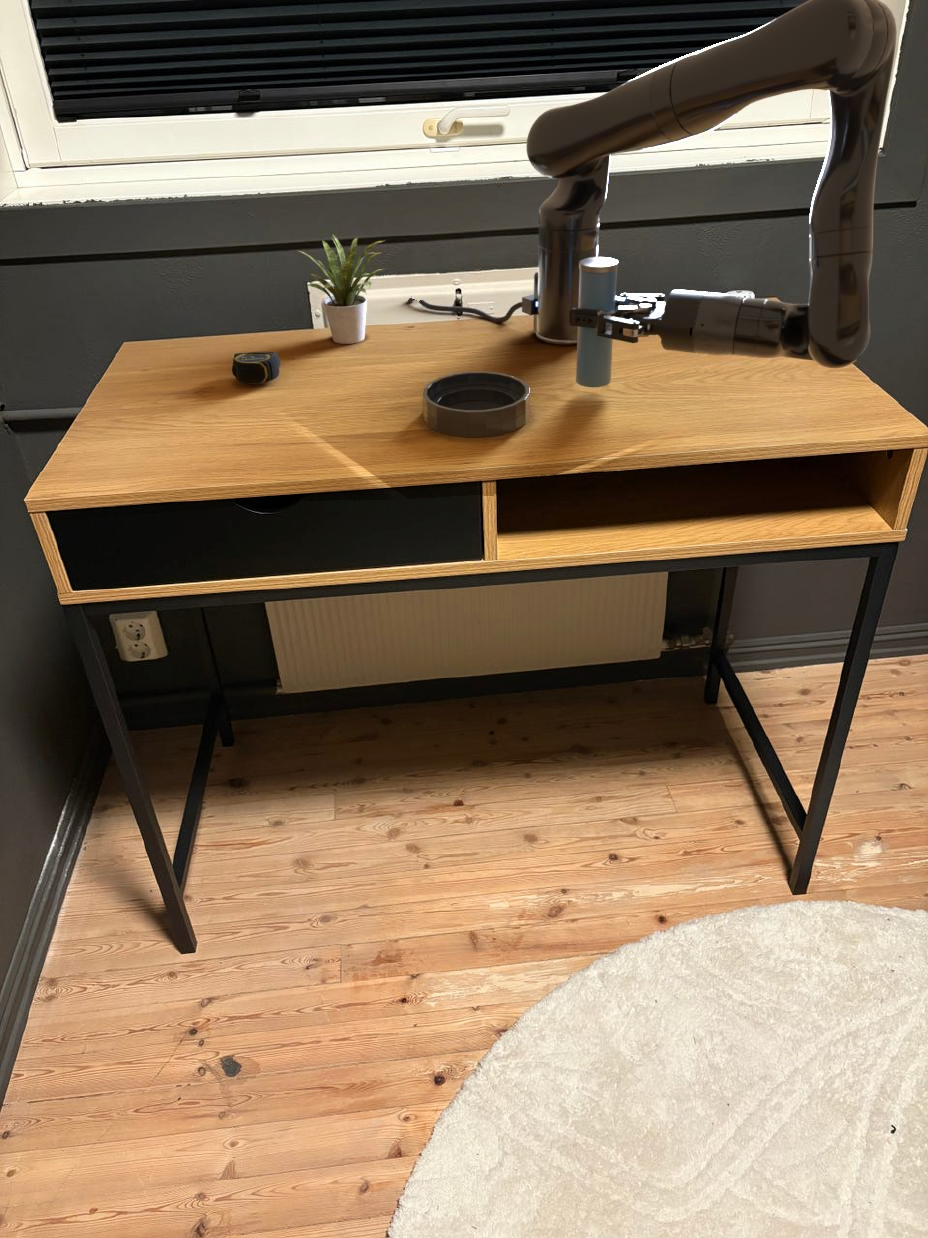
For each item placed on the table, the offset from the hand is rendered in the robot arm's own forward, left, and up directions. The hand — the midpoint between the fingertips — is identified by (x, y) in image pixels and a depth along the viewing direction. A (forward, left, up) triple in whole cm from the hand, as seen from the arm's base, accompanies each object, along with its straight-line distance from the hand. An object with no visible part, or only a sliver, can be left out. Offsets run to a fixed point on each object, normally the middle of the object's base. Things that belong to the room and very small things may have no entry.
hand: (577, 310), depth 126 cm
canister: (+2, +1, -9) cm, 10 cm away
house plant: (-41, -12, -12) cm, 44 cm away
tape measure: (-35, -33, -12) cm, 49 cm away
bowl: (-2, -16, -12) cm, 20 cm away
